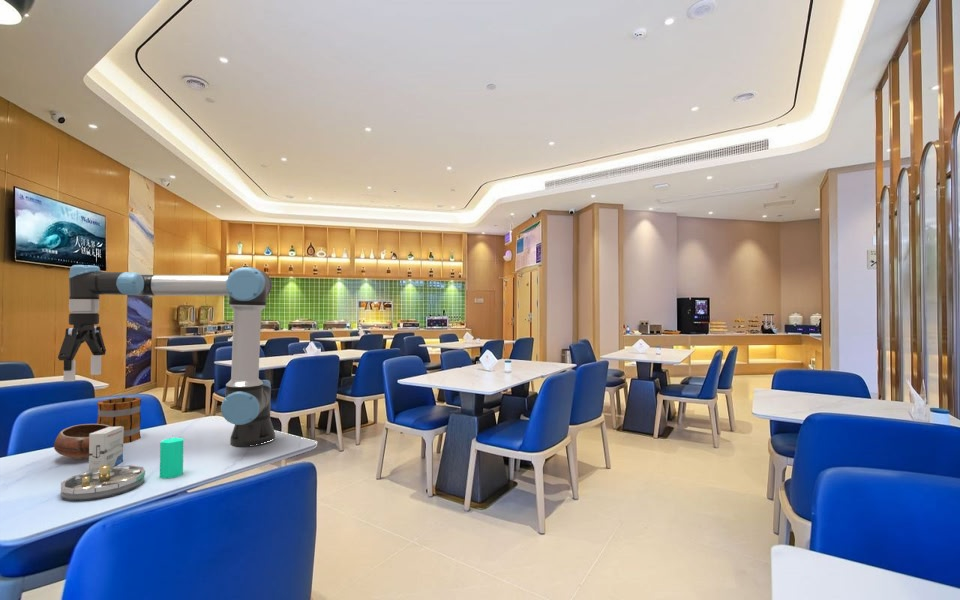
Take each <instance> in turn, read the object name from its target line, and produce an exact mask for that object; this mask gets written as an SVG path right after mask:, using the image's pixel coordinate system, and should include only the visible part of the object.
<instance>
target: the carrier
mask: <svg viewBox="0 0 960 600" xmlns="http://www.w3.org/2000/svg"><path fill="white" fill-rule="evenodd" d="M145 476H146V470H145V468H144V467H143V466H140V465H139V466H138V465H133V464H131V465H130V464H129V465H115V466H113V467H110V465H102V466H100V467H99V469H96V470H92V471H89V470H88V471H85V472H82V473H78V474H76V475H72V476H70V477H68V478H66V479H65V480H63V481H61V482H60V498H61V499H62V500H63V501H68V502H90V501H96V500H101V499H107V498H112V497H115V496H119V495H122V494H125V493H129V492H131V491H134V490H135V489H137V488H139V487H140V486H141V485H143V484H144V482H145Z"/></svg>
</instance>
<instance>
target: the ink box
mask: <svg viewBox="0 0 960 600" xmlns="http://www.w3.org/2000/svg"><path fill="white" fill-rule="evenodd" d="M123 435H124V427H122V426H118V427H107V428H104V429H102V430H99V431H96V432H93V433H90V434H89V458H88V471H92V470H96V469H99V467H100V466H102V465H110V467H113V466H118V465H119V464H121V463H123V461H124V444H123Z"/></svg>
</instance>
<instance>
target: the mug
mask: <svg viewBox="0 0 960 600" xmlns="http://www.w3.org/2000/svg"><path fill="white" fill-rule="evenodd" d="M96 403H97V404H96V405H97V417H96V424H103V425H108V426H111V427H118V426H122V427H124V435H123V445H125V444H129V443H133V442H136V441H137V440H141V438H142V437H141V423H142V422H141V421H142V415H141V404H142V398H140V397H137V396H136V397H134V396H133V397H132V396H131V397H129V396H127V397H125V396H124V397H123V396H122V397H115V398H107V399H104V400H100V401H97V402H96Z"/></svg>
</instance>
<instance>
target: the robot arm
mask: <svg viewBox="0 0 960 600" xmlns="http://www.w3.org/2000/svg"><path fill="white" fill-rule="evenodd" d="M68 283H69V287H68V289H69V291H68V292H69V294H68V295H69V297H68V299H69V300H68V311H69V312H70V313H69V314H68V324H69V325H70V326H73V327H71V328H70V327H68V328H66V329H65V332H64V333H65V334H64V335H65V336H64V338H63V341H62V343H61V346H60V350H59V352H58V355H57V359H58V360H59V361H63V382H75V381H76V359H75V356H76V355H77V353H78V352H79V349H80V347H81V345H82V344H84V343H86V345H87V347H88V349H89V350H90V351H91V355H90V376H96V375H97V376H99V375H102V356H105V355H106V352H107V349H106V345H105V342H104V338H103V336H102V328H101V326H100V325H99V324H100V314H99V313H98V312H99V311H100V297H101V296H100V295H103V296H105V295H110V296H111V295H112V296H113V295H114V296H116V295H117V296H137V297H146V296H147V297H148V296H154V297H155V296H203V297H204V296H206V297H207V296H218V297H219V296H221V297H222V296H226V297H229V301H228V306H229V307H230V308H231V309H232V310H233V320H232V321H233V323H232V324H233V327H232V344H231V345H232V348H231V350H232V351H231V372H230V373H231V376H230V380H229V381H228V382H227V383H226V384H225V397H224V398H223V400H222V402H221V406H220V412H221V415H222V417H223V418H224V419H225V420H226V422H228V423H230V424H233V425H234V427H233V430H232V432H231V435H230V441H229V442H230V446H232V447H233V446H234V447H239V446H248V447H251V446H250V445H256V444H261V443H264V442H267V441H270V440H272V439H274V438H275V439H276V432H274V431H275V429H274V426H273V422H272V420H271V398H272V397H271V396H272V395H271V393H272V392H271V390H272V386H271V381H270V380H269V379H260V378H259V375H260V374H259V373H260V349H261V348H260V347H261V346H260V345H261V325H262V324H261V323H262V320H261V319H262V311H263V310H264V309H265V308H266V307H267V297H268V296H269V295H270V294H271V290H272V288H273V282H272V279H271V278H270V276H269V275H268V274H267V273H266V272H264V271H263V270H260V269H257V268H255V267H253V266H251V267H250V266H242V267H239V268H236V269H234V270H233V271H231V272H230V273H229V275H228V274H227V275H226V274H225V275H224V274H223V275H222V274H220V275H219V274H218V275H217V274H216V275H215V274H214V275H213V274H212V275H210V274H206V275H205V274H204V275H203V274H198V275H197V274H192V275H191V274H141V273H138V272H131V271H123V272H122V271H121V272H120V271H110V272H109V271H101V268H100V266H98V265H89V264H88V265H86V264H85V265H84V264H73V265H72V266H70V268H69V276H68ZM95 325H97V326H95ZM98 325H99V326H98ZM275 439H274V440H275Z"/></svg>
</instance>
